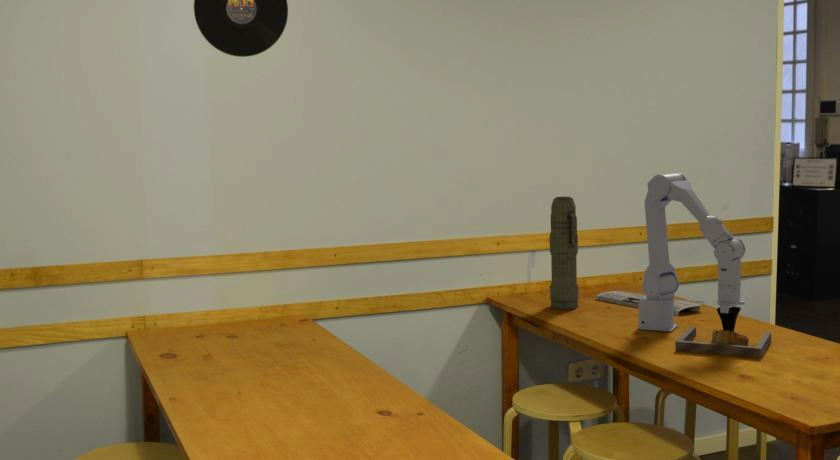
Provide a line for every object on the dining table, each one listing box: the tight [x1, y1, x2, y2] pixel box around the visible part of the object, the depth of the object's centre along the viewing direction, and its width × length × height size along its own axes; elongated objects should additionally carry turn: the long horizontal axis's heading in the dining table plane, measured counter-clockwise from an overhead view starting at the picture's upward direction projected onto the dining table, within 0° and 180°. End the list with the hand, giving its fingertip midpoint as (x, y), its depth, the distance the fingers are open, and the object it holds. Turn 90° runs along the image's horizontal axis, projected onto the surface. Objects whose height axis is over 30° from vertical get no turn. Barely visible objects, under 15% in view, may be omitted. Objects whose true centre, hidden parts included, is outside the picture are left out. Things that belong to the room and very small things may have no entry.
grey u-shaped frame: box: [674, 325, 772, 359], centre depth 253 cm, size 21×18×2 cm
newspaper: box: [594, 290, 705, 317], centre depth 307 cm, size 35×12×4 cm, turn 36°
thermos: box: [549, 196, 580, 311], centre depth 306 cm, size 9×12×35 cm
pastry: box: [710, 329, 750, 346], centre depth 255 cm, size 9×7×4 cm
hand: (728, 334), depth 259 cm, fingers closed
